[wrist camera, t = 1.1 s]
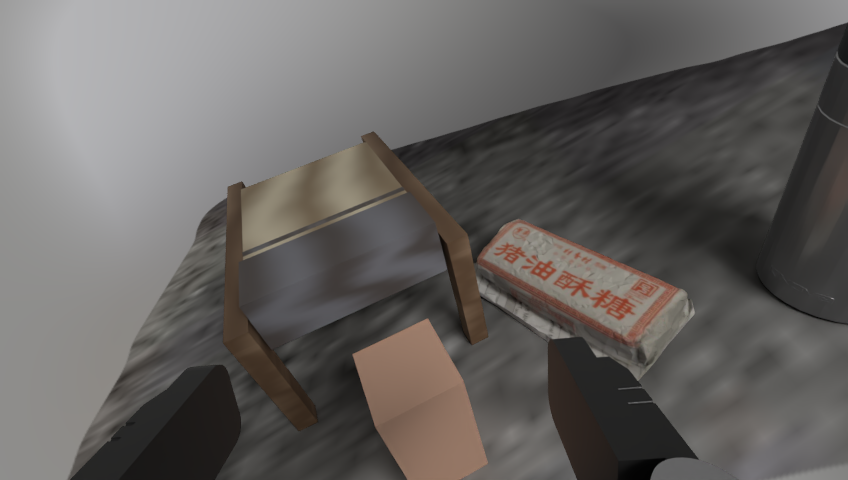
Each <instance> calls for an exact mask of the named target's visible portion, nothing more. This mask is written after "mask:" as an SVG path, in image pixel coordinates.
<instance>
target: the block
mask: <svg viewBox="0 0 848 480" xmlns="http://www.w3.org/2000/svg"><path fill="white" fill-rule="evenodd" d="M352 355H353V358H354V361H355V364H356V367H357V370H358V374H359V377H360V380H361V383H362V386H363V390H364V393H365V396H366V399H367V402H368V405H369V409H370V412H371V415H372V418H373V421H374V425H375V427H376V429H377V431H378V432H379V434H380V436H381V437H382V439H383V440H384V442H385V444H386V445H387V447H388V449H389V450H390V452H391V454H392V455H393V457H394V458H395V460H396V462H397V463H398V465H399V467H400V468H401V470H402V471H403V473H404V475H405V476H406V478H407V480H460V479H462V478H463V477H465V476H467V475H469V474H470V473H472V472H474V471H476V470H478V469H479V468H481V467H483V466H485V465H487V464H488V462H487V458H486V455H485V452H484V448H483V445H482V442H481V438H480V435H479V431H478V428H477V425H476V421H475V418H474V415H473V411H472V408H471V404H470V401H469V398H468V394H467V391H466V388H465V384H464V381H463V379H462V378H461V376H460V374H459V372H458V371H457V369H456V367H455V365H454V364H453V362H452V360H451V358H450V357H449V355H448V353H447V351H446V350H445V348H444V346H443V344H442V343H441V341H440V339H439V337H438V335H437V334H436V332H435V330H434V328H433V327H432V325H431V323H430V321H429V320H428V319H425V320H423V321H421V322H419V323H417V324H415V325H413V326H411V327H409V328H407V329H404V330H402V331H400V332H398V333H396V334H394V335H392V336H390V337H388V338H386V339H383V340H381V341H379V342H377V343H375V344H373V345H371V346H369V347H367V348H365V349H362V350H360V351H358V352H356V353H354V354H352Z"/></svg>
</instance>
